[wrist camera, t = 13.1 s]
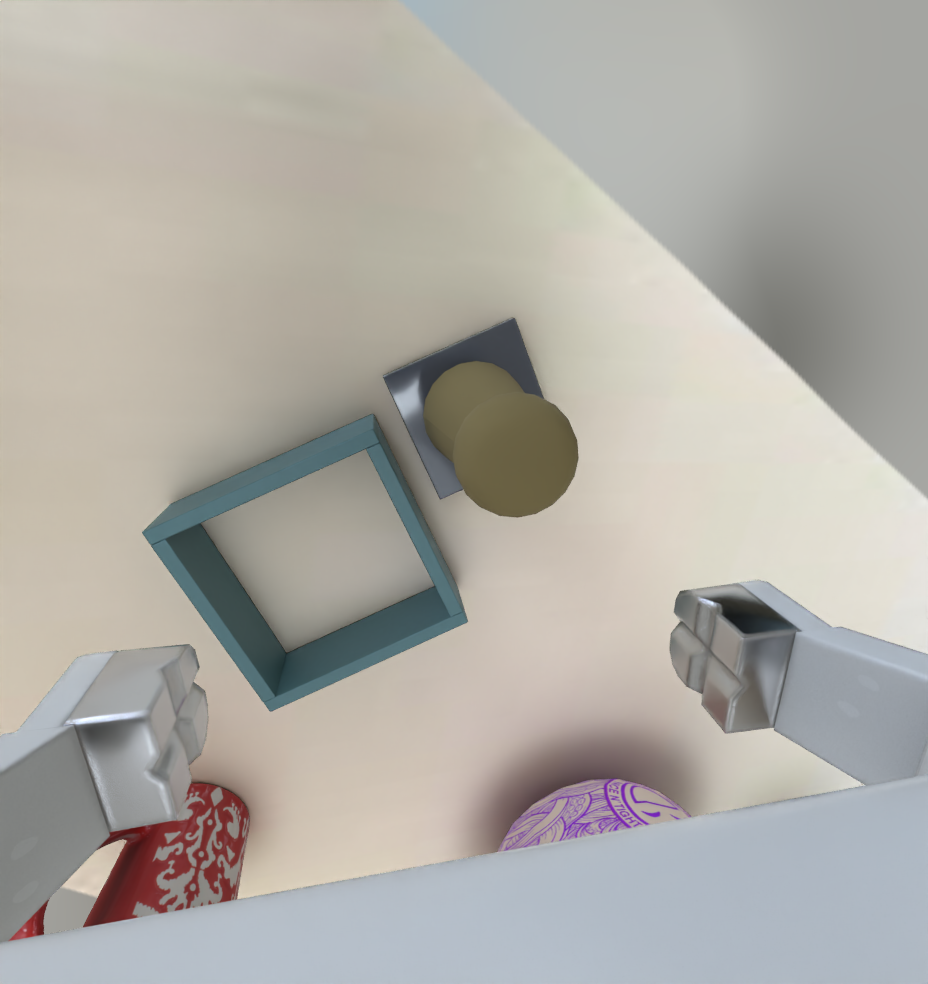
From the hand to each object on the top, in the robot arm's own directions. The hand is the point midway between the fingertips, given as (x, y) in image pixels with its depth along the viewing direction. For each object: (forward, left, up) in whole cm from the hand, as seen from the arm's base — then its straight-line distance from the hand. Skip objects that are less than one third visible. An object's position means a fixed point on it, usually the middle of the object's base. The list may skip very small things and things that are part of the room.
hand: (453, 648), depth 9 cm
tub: (+6, -8, -23) cm, 25 cm away
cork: (+2, +4, -23) cm, 23 cm away
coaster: (+2, +4, -23) cm, 24 cm away
